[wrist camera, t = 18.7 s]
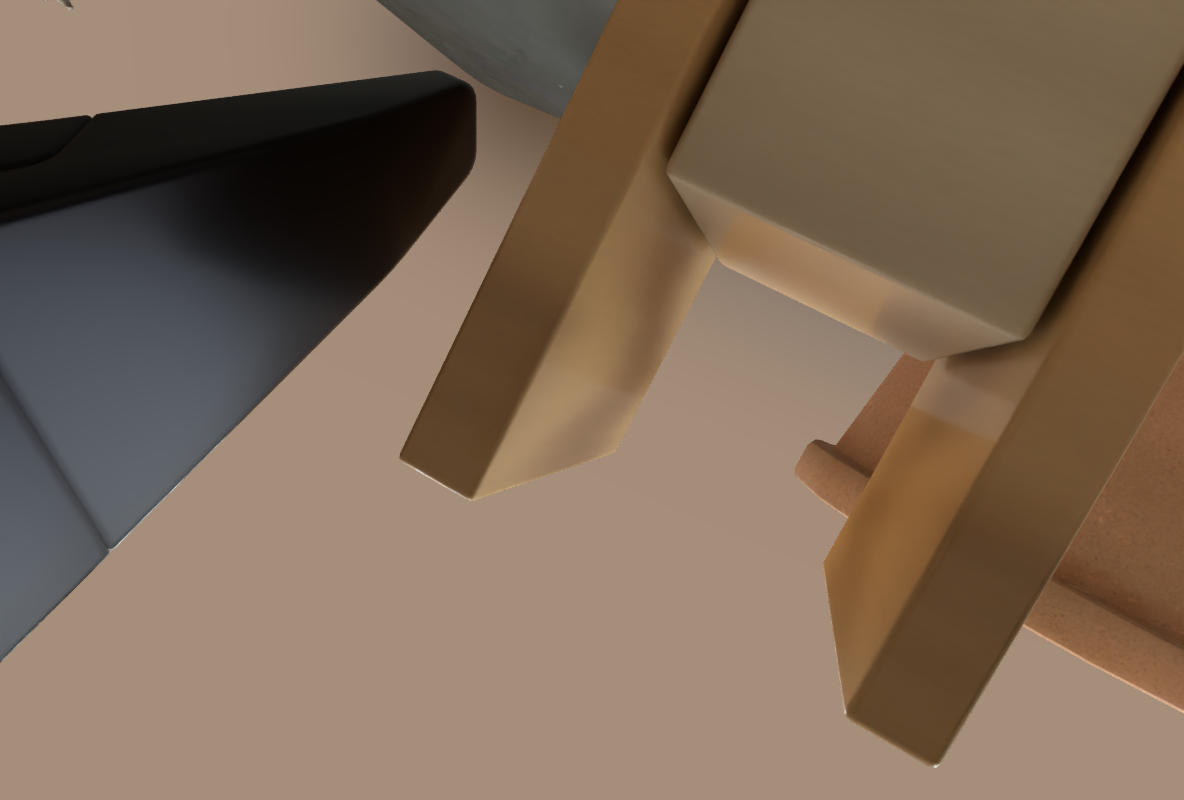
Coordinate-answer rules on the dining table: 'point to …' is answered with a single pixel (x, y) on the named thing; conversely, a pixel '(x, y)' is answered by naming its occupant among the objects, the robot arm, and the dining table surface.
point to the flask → (65, 4)
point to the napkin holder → (861, 284)
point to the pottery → (1099, 550)
